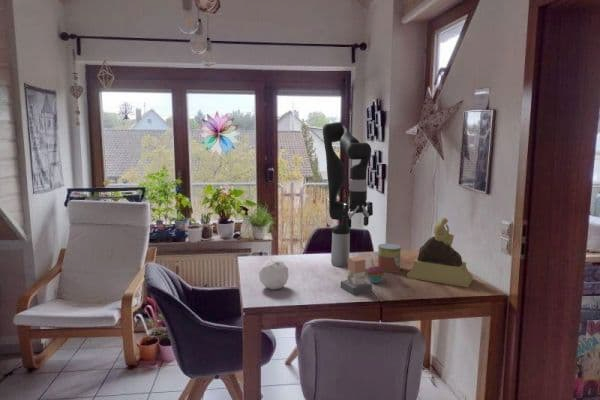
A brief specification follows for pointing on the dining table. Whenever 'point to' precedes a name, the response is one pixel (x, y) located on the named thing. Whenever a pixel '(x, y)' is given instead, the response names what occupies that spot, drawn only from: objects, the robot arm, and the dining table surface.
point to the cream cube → (356, 278)
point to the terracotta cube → (356, 264)
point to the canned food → (389, 257)
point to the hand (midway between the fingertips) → (357, 226)
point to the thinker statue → (440, 260)
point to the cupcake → (375, 273)
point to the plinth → (356, 287)
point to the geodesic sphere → (273, 274)
